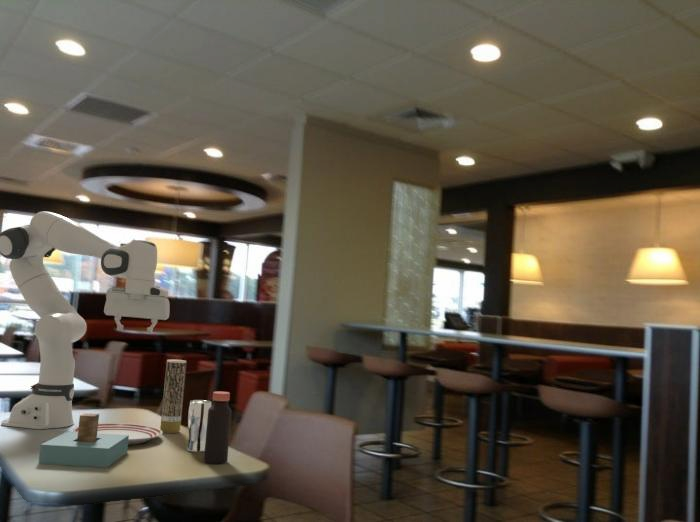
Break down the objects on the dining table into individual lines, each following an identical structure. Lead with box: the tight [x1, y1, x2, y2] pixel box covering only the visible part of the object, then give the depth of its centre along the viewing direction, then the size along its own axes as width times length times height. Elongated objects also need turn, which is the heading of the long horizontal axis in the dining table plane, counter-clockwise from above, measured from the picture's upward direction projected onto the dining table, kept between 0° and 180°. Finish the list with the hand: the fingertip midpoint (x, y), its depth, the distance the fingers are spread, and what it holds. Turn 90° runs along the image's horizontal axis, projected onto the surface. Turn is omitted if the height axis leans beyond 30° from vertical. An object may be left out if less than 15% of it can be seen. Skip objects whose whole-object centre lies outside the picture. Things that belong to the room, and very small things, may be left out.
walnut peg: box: [77, 412, 100, 442], centre depth 174 cm, size 4×4×12 cm
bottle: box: [203, 390, 233, 465], centre depth 180 cm, size 7×7×20 cm
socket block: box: [38, 431, 129, 468], centre depth 174 cm, size 18×18×5 cm
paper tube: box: [159, 359, 187, 434], centre depth 217 cm, size 7×7×25 cm
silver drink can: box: [186, 399, 212, 453], centre depth 193 cm, size 7×7×15 cm
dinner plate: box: [72, 422, 164, 446], centre depth 200 cm, size 27×27×3 cm
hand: (134, 331), depth 198 cm, fingers open, 8 cm apart
